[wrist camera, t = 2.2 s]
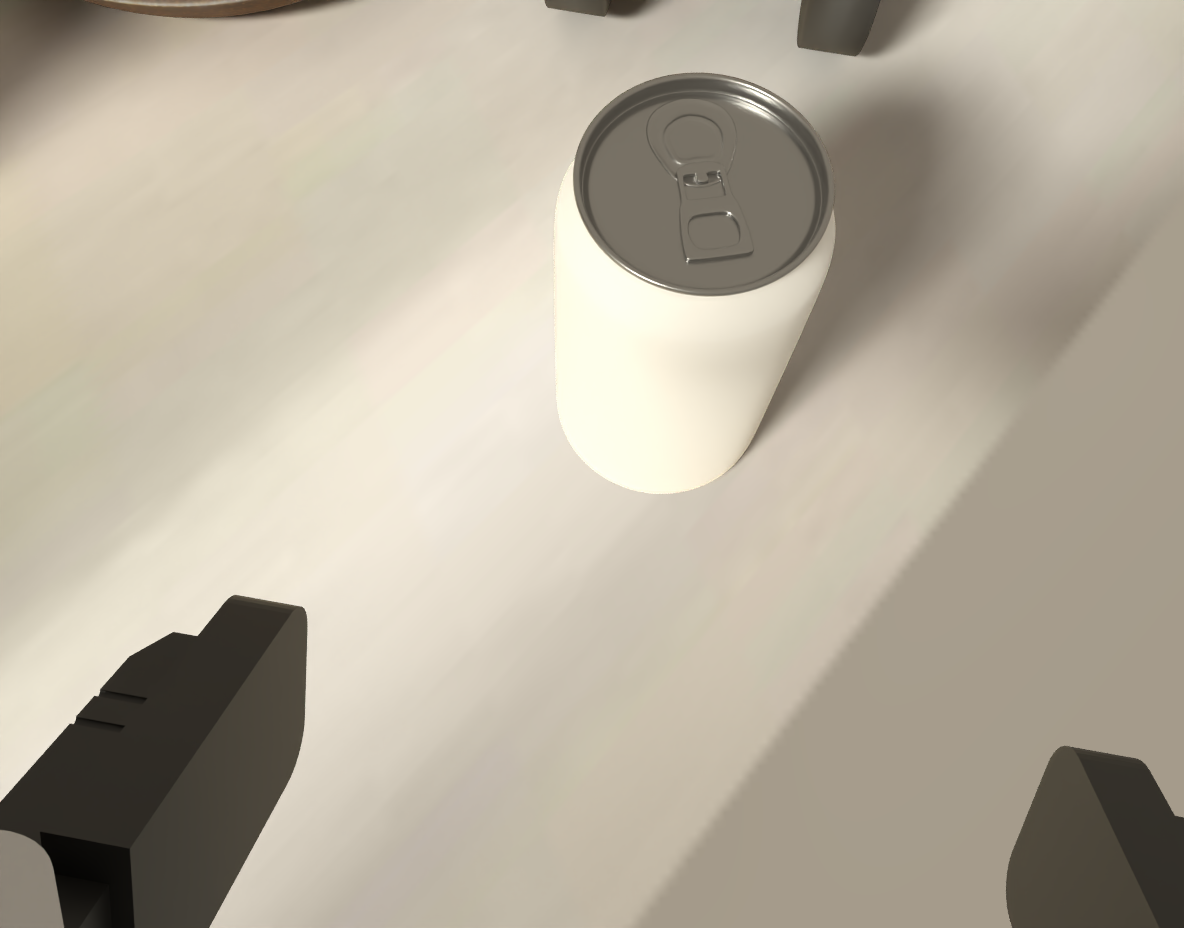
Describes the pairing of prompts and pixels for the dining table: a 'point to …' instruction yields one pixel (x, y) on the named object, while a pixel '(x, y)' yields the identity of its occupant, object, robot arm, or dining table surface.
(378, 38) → the dining table surface
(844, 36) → the trolley
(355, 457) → the dining table surface
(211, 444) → the dining table surface
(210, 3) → the plant saucer
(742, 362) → the can
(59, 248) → the dining table surface
